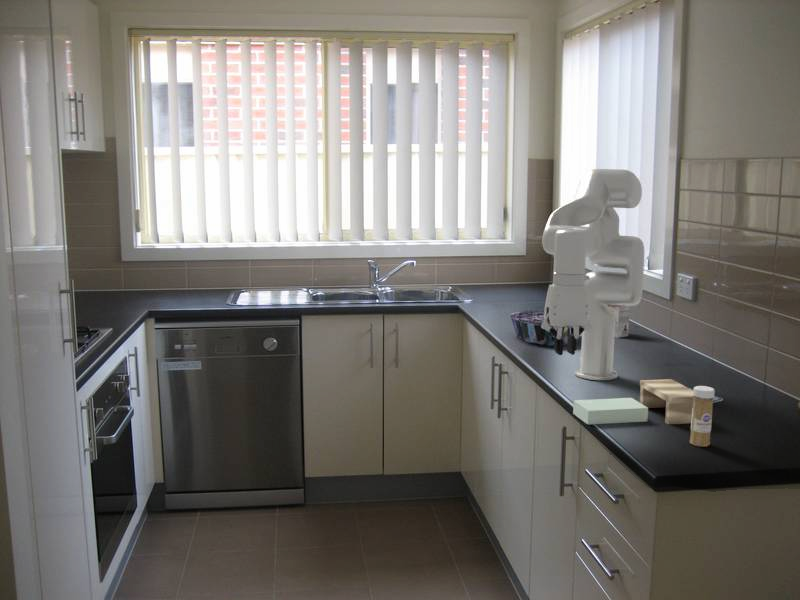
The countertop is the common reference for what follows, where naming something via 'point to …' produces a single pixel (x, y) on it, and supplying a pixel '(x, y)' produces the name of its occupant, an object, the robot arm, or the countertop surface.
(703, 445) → the sprinkles bottle
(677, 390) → the birch shelf
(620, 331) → the coffee box
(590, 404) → the mint green block
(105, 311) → the countertop surface
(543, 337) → the decorative bowl
